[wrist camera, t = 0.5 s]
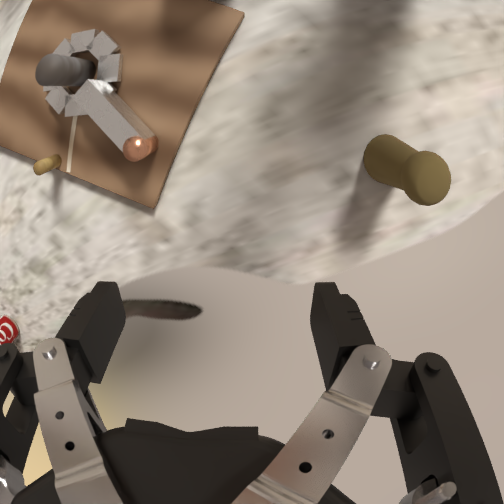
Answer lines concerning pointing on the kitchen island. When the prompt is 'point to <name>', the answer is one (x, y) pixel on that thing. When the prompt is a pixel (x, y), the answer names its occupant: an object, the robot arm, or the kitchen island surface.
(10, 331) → the soda can
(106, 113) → the segmented ring with handle
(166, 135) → the board
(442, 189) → the cork
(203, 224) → the kitchen island surface
